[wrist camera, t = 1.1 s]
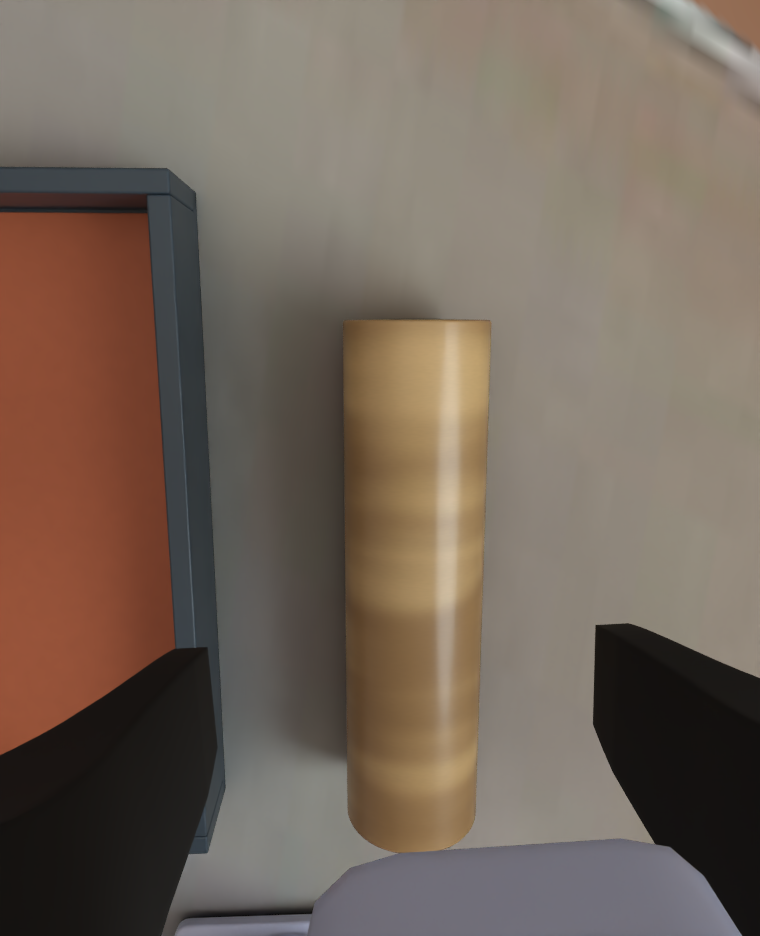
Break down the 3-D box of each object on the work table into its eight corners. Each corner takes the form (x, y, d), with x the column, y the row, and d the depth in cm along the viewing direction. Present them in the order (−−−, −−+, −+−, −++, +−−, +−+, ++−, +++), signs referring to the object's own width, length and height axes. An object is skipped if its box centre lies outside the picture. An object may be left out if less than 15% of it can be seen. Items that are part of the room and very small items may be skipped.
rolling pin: (462, 765, 24) (488, 851, 20) (346, 770, 24) (349, 859, 20) (474, 321, 21) (507, 319, 17) (341, 320, 20) (344, 319, 17)
